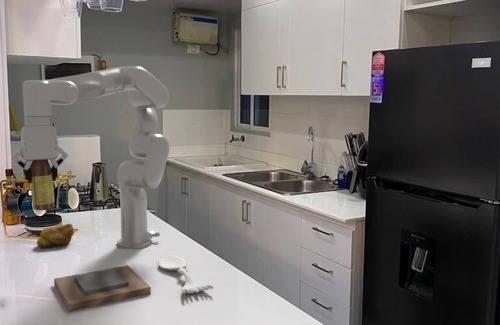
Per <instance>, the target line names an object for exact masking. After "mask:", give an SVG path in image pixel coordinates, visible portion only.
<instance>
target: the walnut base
mask: <svg viewBox="0 0 500 325" xmlns="http://www.w3.org/2000/svg"><path fill="white" fill-rule="evenodd" d="M53 284H54V287H55V289H56V291H57V292H58V294H59V297H60V298H61V300H62V303H64V305H65V306H66V309H67V311H68V312H69V313H70V312H74V311H78V310H83V309H88V308H93V307H96V306H101V305H105V304H109V303H115V302H119V301H124V300H128V299H129V300H130V299H132V298H137V297H138V298H139V297H141V296H145V295H150V294H151V293H152V292H151V291H152V290H151V288H152V287H151V286H150V285H149V284H148V283H147V282H146V281H145V280H144V279H143V278H142V277H141V276H140V275H139V274H138V273H137V272H136V271H135V270H134V269H132V268H131V267H130V266H129V264H127V265H121V266H116V267H111V268H110V267H109V268H106V269H100V270H95V271H94V270H93V271H90V272H89V271H88V272H84V273H78V274H72V275H67V276H62V277H58V278H57V277H55V278H54V279H53Z"/></svg>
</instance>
